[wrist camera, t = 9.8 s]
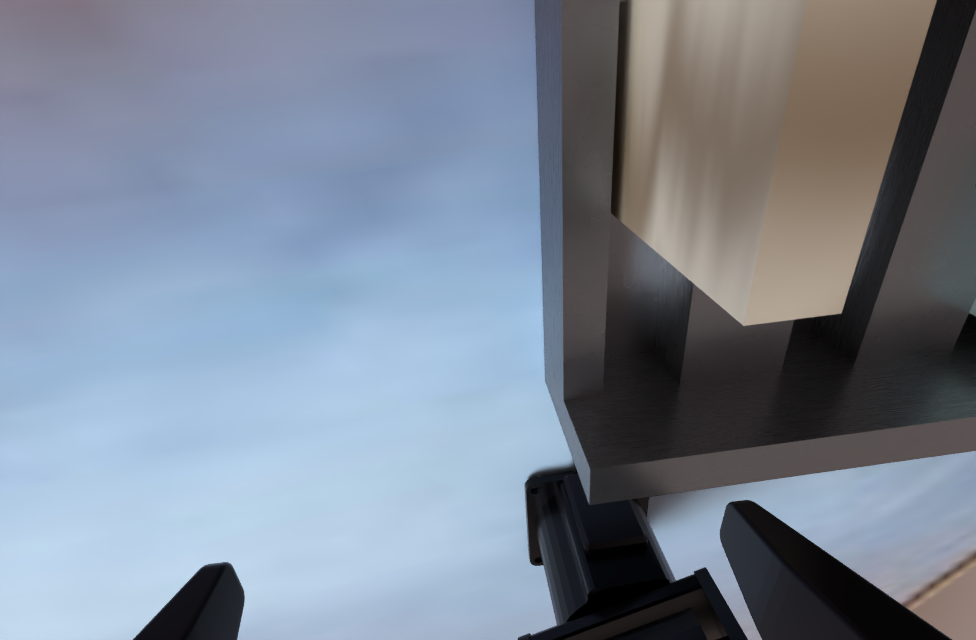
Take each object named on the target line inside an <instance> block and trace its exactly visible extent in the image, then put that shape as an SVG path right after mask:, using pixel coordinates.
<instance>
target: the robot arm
mask: <svg viewBox="0 0 976 640" xmlns="http://www.w3.org/2000/svg"><path fill="white" fill-rule="evenodd" d="M534 487H536V488H534ZM525 500H526V517H527V534H528V550H529V559H530V563H531V564H532V565H535V566H540V565H544V569H545V573H546V578H547V582H548V587H549V591H550V596H551V600H552V605H553V609H554V614H555V618H556V623H557V626H554V627H552V628H549V629H546V630H544V631H541V632H538V633H536V634H533V635H531V634H530V633H529V634H526V635H524V636H521V637H518V640H748V639H747V637H746V636H745V634H744V632H743V630H742V629H741V627H740V625H739V624H738V622H737V620H736V618H735V617H734V615H733V613H732V612H731V610H730V608H729V606H728V605H727V603H726V601H725V599H724V598H723V596H722V594H721V593H720V591H719V589H718V587H717V586H716V584H715V582H714V581H713V579H712V577H711V575H710V574H709V572H708V570H707V569H706V567H705V568H702V569H699V570H697V571H694V574H693V575H690V576H688V577H685V578H682V579H680V580H677V581H676V580H675V577H674V575H673V573H672V571H671V569H670V567H669V565H668V563H667V560H666V558H665V556H664V554H663V552H662V550H661V548H660V546H659V543H658V541H657V539H656V537H655V535H654V533H653V531H652V529H651V526H650V524H649V522H648V520H647V509H648V501H649V497H643V498H636V499H629V500H622V501H615V502H608V503H601V504H594V505H589V503H588V500H587V497H586V494H585V492H584V489H583V486H582V483H581V480H580V478H579V475H578V472H570V473H563V474H556V475H548V476H541V477H534V478H530V479H529V480H527V481H526V483H525ZM720 539H721V543H722V546H723V548H724V551H725V553H726V556H727V558H728V561H729V563H730V565H731V568H732V570H733V573H734V575H735V577H736V580H737V582H738V585H739V587H740V589H741V592H742V594H743V597H744V599H745V602H746V604H747V606H748V609H749V611H750V614H751V616H752V618H753V621H754V623H755V625H756V627H757V630H758V632H759V634H760V636H761V638H762V640H952V639H950V638H949V637H948V636H946V635H944V634H943V633H942V632H940V631H938V630H937V629H936V628H935V627H933V626H932V625H930V624H929V623H927V622H926V621H924V620H923V619H921V618H920V617H919V616H917V615H916V614H914V613H913V612H912V611H910V610H909V609H907V608H906V607H904V606H903V605H902V604H900V603H899V602H897V601H896V600H894V599H893V598H891V597H890V596H889V595H887V594H886V593H884V592H883V591H881V590H880V589H879V588H877V587H876V586H874V585H873V584H871V583H870V582H868V581H867V580H866V579H864V578H863V577H861V576H860V575H858V574H857V573H856V572H854V571H853V570H851V569H850V568H848V567H847V566H845V565H844V564H843V563H841V562H840V561H838V560H837V559H835V558H834V557H833V556H831V555H830V554H828V553H827V552H825V551H824V550H822V549H821V548H820V547H818V546H817V545H815V544H814V543H812V542H811V541H810V540H808V539H807V538H805V537H804V536H802V535H801V534H799V533H798V532H797V531H795V530H794V529H792V528H791V527H789V526H788V525H787V524H785V523H784V522H782V521H781V520H779V519H778V518H776V517H775V516H774V515H772V514H771V513H769V512H768V511H766V510H765V509H764V508H762V507H761V506H759V505H758V504H756V503H755V502H752V501H749V500H744V501H735V502H730V503H729V504H728V505H727V506H726V510H725V513H724V517H723V521H722V525H721V529H720ZM244 599H245V597H244V590H243V587H242V585H241V583H240V581H239V579H238V577H237V575H236V572H235V570H234V568H233V566H232V565H231V564H230V563H228V562H223V563H215V564H208V565H205V566H203V567H202V568H201V569H200V570H199V571H198V572H197V573H196V574H195V575H194V576H193V577H192V578H191V579H190V580H189V581H188V582H187V583H186V584H185V585H184V586H183V587H182V588H181V589H180V591H179V592H178V593H177V594H176V595H175V596H174V597H173V598H172V599H171V600H170V601H169V602H168V603H167V604H166V605H165V606H164V607H163V608H162V610H161V611H160V612H159V613H158V614H157V615H156V616H155V617H154V618H153V619H152V620H151V621H150V622H149V623H148V624H147V625H146V626H145V627H144V628H143V630H142V631H141V632H140V633H139V634H138V635H137V636H136V637H135V638H134V639H133V640H237V637H238V632H239V627H240V622H241V617H242V612H243V607H244Z"/></svg>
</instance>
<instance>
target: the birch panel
mask: <svg viewBox="0 0 976 640" xmlns="http://www.w3.org/2000/svg"><path fill="white" fill-rule="evenodd" d="M936 1H937V0H626V1H623V2H620V6H619V29H618V52H617V75H616V98H615V121H614V144H613V168H612V191H611V214H612V215H614V216H615V217H616V218H617V219H618V220H619V221H621V222H622V223H623V224H624V225H625V226H627V227H628V228H629V229H630V230H631V231H632V232H634V233H635V234H636V235H637V236H638V237H639V238H641V239H642V240H643V241H644V242H645V243H647V244H648V245H649V246H650V247H651V248H652V249H654V250H655V251H656V252H657V253H658V254H659V255H661V256H662V257H663V258H664V259H665V260H667V261H668V262H669V263H670V264H671V265H672V266H674V267H675V268H676V269H677V270H678V271H679V272H681V273H682V274H683V275H684V276H685V277H687V278H688V279H689V280H690V281H691V282H692V283H694V284H695V285H696V286H697V287H698V288H700V289H701V290H702V291H703V292H704V293H705V294H707V295H708V296H709V297H710V298H711V299H712V300H714V301H715V302H716V303H717V304H718V305H720V306H721V307H722V308H723V309H724V310H725V311H727V312H728V313H729V314H730V315H731V316H732V317H734V318H735V319H736V320H737V321H738V322H740V323H741V324H742V325H743V326H747V325H755V324H763V323H771V322H779V321H787V320H794V319H802V318H810V317H818V316H826V315H834V314H842V310H843V307H844V304H845V301H846V297H847V294H848V291H849V287H850V284H851V281H852V278H853V274H854V271H855V268H856V264H857V261H858V258H859V255H860V251H861V248H862V245H863V241H864V238H865V235H866V232H867V228H868V225H869V222H870V218H871V215H872V212H873V209H874V205H875V202H876V199H877V195H878V192H879V189H880V186H881V182H882V179H883V176H884V172H885V169H886V166H887V163H888V159H889V156H890V153H891V149H892V146H893V143H894V140H895V136H896V133H897V130H898V126H899V123H900V120H901V117H902V113H903V110H904V107H905V103H906V100H907V97H908V94H909V90H910V87H911V84H912V80H913V77H914V74H915V70H916V67H917V64H918V61H919V57H920V54H921V51H922V47H923V44H924V41H925V38H926V34H927V31H928V28H929V24H930V21H931V18H932V15H933V11H934V8H935V5H936Z"/></svg>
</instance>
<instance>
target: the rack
mask: <svg viewBox="0 0 976 640" xmlns="http://www.w3.org/2000/svg"><path fill="white" fill-rule="evenodd" d="M623 1H626V0H535V26H536V63H537V99H538V136H539V173H540V209H541V246H542V283H543V319H544V356H545V382H546V385H547V388H548V390H549V393H550V396H551V399H552V402H553V404H554V407H555V410H556V413H557V416H558V418H559V421H560V424H561V427H562V430H563V433H564V435H565V438H566V441H567V444H568V447H569V449H570V452H571V455H572V458H573V461H574V464H575V466H576V469H577V472H578V475H579V478H580V480H581V483H582V486H583V489H584V492H585V494H586V497H587V500H588V503H589V505H594V504H601V503H608V502H615V501H622V500H629V499H636V498H643V497H650V496H658V495H665V494H672V493H679V492H686V491H693V490H700V489H707V488H714V487H721V486H728V485H735V484H743V483H750V482H757V481H764V480H771V479H778V478H785V477H792V476H799V475H806V474H813V473H820V472H828V471H835V470H842V469H849V468H856V467H863V466H870V465H877V464H884V463H891V462H898V461H906V460H913V459H920V458H927V457H934V456H941V455H948V454H955V453H962V452H969V451H976V316H975V315H972V314H970V313H969V312H970V310H971V307H972V305H973V303H974V301H975V299H976V0H937V1H936V5H935V8H934V11H933V15H932V18H931V21H930V24H929V28H928V31H927V34H926V38H925V41H924V44H923V47H922V51H921V54H920V57H919V61H918V64H917V67H916V70H915V74H914V77H913V80H912V84H911V87H910V90H909V94H908V97H907V100H906V103H905V107H904V110H903V113H902V117H901V120H900V123H899V126H898V130H897V133H896V136H895V140H894V143H893V146H892V149H891V153H890V156H889V159H888V163H887V166H886V169H885V172H884V176H883V179H882V182H881V186H880V189H879V192H878V195H877V199H876V202H875V205H874V209H873V212H872V215H871V218H870V222H869V225H868V228H867V232H866V235H865V238H864V241H863V245H862V248H861V251H860V255H859V258H858V261H857V264H856V268H855V271H854V274H853V278H852V281H851V284H850V287H849V291H848V294H847V297H846V301H845V304H844V307H843V310H842V314H834V315H826V316H818V317H810V318H802V319H794V320H787V321H779V322H771V323H763V324H755V325H747V326H743V325H742V324H741V323H740V322H738V321H737V320H736V319H735V318H734V317H732V316H731V315H730V314H729V313H728V312H727V311H725V310H724V309H723V308H722V307H721V306H720V305H718V304H717V303H716V302H715V301H714V300H712V299H711V298H710V297H709V296H708V295H707V294H705V293H704V292H703V291H702V290H701V289H700V288H698V287H697V286H696V285H695V284H694V283H692V282H691V281H690V280H689V279H688V278H687V277H685V276H684V275H683V274H682V273H681V272H679V271H678V270H677V269H676V268H675V267H674V266H672V265H671V264H670V263H669V262H668V261H667V260H665V259H664V258H663V257H662V256H661V255H659V254H658V253H657V252H656V251H655V250H654V249H652V248H651V247H650V246H649V245H648V244H647V243H645V242H644V241H643V240H642V239H641V238H639V237H638V236H637V235H636V234H635V233H634V232H632V231H631V230H630V229H629V228H628V227H627V226H625V225H624V224H623V223H622V222H621V221H619V220H618V219H617V218H616V217H615V216H614V215H612V214H611V191H612V168H613V144H614V121H615V98H616V75H617V52H618V29H619V6H620V2H623Z"/></svg>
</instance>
